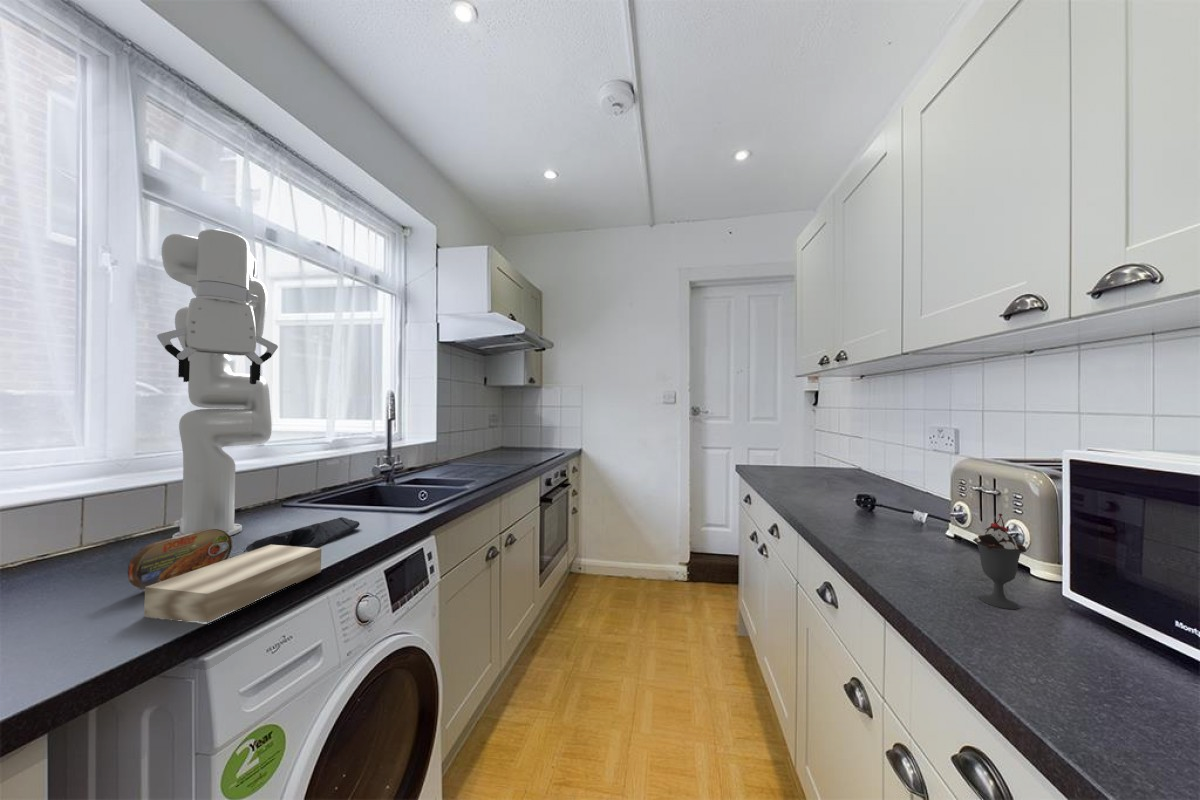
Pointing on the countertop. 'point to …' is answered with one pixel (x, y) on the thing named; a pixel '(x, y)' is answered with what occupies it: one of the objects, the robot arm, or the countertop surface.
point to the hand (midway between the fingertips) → (221, 382)
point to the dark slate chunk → (308, 534)
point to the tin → (178, 556)
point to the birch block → (230, 583)
